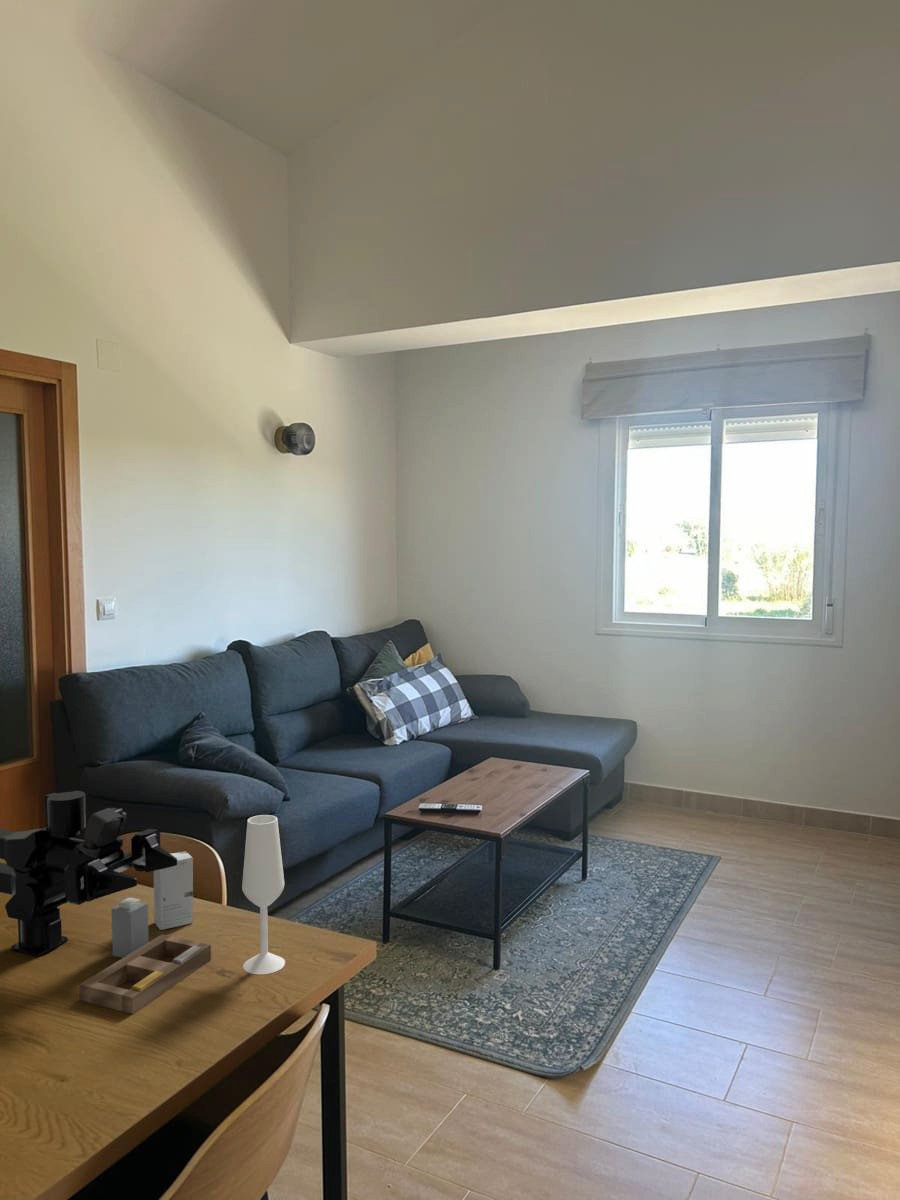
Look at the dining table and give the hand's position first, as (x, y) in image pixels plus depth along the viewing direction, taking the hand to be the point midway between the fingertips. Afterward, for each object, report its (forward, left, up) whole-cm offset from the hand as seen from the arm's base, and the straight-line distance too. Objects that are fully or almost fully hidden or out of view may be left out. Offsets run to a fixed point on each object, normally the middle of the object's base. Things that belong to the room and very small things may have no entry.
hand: (157, 872), depth 138 cm
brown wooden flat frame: (0, -2, -16) cm, 17 cm away
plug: (-9, +4, -17) cm, 19 cm away
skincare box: (-10, +16, -17) cm, 25 cm away
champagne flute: (+14, +9, -17) cm, 23 cm away
